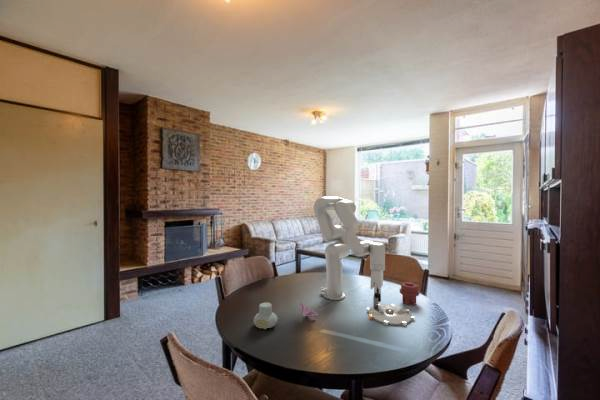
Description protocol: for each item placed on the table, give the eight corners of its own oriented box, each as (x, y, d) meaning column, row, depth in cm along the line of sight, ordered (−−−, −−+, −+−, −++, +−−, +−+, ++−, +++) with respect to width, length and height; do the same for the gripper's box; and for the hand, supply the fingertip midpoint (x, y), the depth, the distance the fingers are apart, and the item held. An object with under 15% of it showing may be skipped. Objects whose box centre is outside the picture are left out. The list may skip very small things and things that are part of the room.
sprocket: (361, 320, 130) (361, 306, 130) (371, 303, 150) (371, 291, 150) (412, 330, 120) (412, 315, 120) (415, 311, 140) (416, 298, 140)
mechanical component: (417, 302, 155) (421, 309, 145) (398, 301, 157) (401, 308, 147) (417, 280, 154) (421, 286, 145) (398, 279, 156) (401, 285, 147)
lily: (319, 329, 126) (324, 307, 130) (296, 322, 124) (301, 300, 127) (308, 326, 137) (313, 306, 141) (287, 319, 134) (293, 299, 138)
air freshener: (279, 323, 130) (279, 302, 130) (273, 331, 122) (273, 309, 122) (258, 320, 133) (257, 300, 133) (251, 329, 125) (250, 307, 125)
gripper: (373, 262, 153) (373, 295, 153) (367, 269, 139) (367, 305, 140) (387, 264, 149) (387, 297, 150) (382, 270, 136) (382, 307, 136)
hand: (377, 301), depth 145 cm, fingers closed
